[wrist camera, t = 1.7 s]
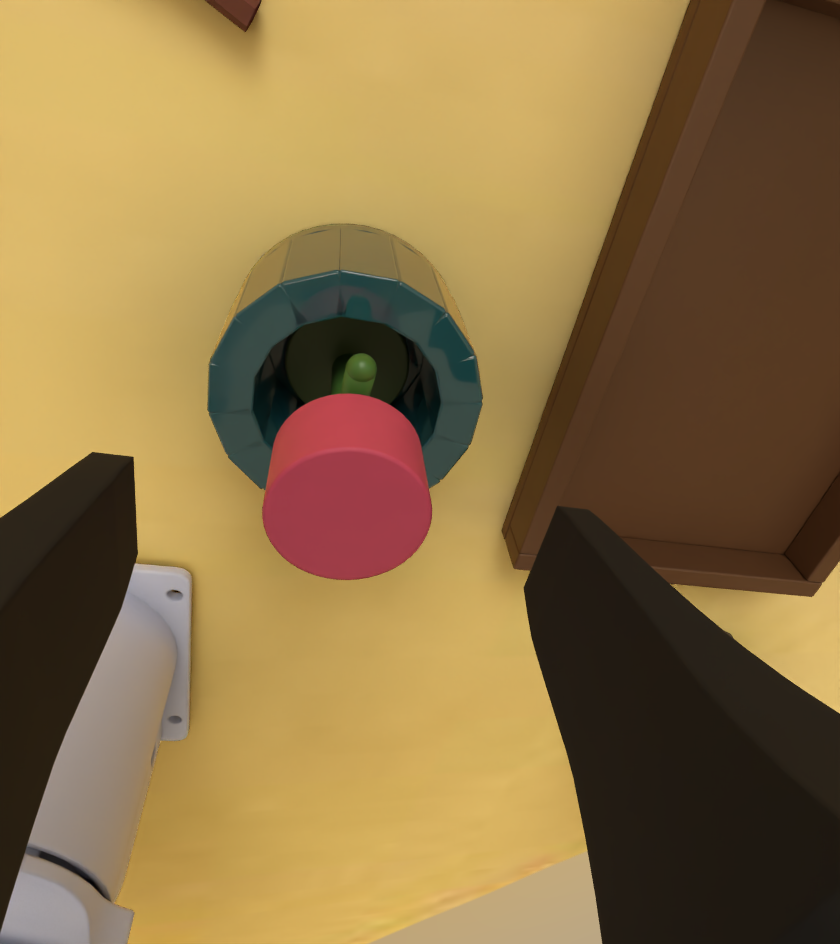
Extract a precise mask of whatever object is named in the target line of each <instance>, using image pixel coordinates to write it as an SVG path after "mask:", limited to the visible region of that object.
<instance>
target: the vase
mask: <svg viewBox="0 0 840 944" xmlns="http://www.w3.org/2000/svg"><path fill="white" fill-rule="evenodd" d="M340 317H345V318H351V319H357V320H363V321H369V322H375V323H381V324H384V325H386V326H387V327H389V328H391V329H392V330H394V331H396V332H397V333H399V334H401V335H402V336H404V337H406V342H407V347H408V353H409V373H408V377H407V380H406V383H405V385H404V387H403V389H402V390H401V392H400V394H399V395H398V396H397V397H396V399H395V400H394V401H393V402H392V403H390V404H389V405H391V406H392V407H394V408H395V409H397V410H398V411H399V412H401V413H402V414H403V415H404V416H405V417H406V418H407V419H408V420H409V421H410V423H411V424H412V426H413V427H414V429H415V431H416V433H417V435H418V437H419V440H420V443H421V448H422V453H423V459H424V464H425V470H426V475H427V481H428V487H429V488H431V487H433V486H434V485H436V484H438V483H439V482H440V480H442V479H443V478H444V477H445V476H446V475H447V473H448V472H449V471H450V470H451V468H452V467H453V466H454V465H455V464H456V462H457V461H458V460H459V459H460V457H461V456H462V455H463V454H464V453H465V451H466V450H467V449H468V446H469V445H470V444H471V442H472V438H473V435H474V432H475V428H476V425H477V421H478V418H479V415H480V411H481V408H482V405H483V404H482V399H483V395H482V388H481V381H480V374H479V368H478V361H477V356H476V353H475V351H474V348H473V346H472V343H471V341H470V338H469V336H468V333H467V331H466V328H465V326H464V323H463V321H462V318H461V315H460V313H459V310H458V308H457V305H456V303H455V300H454V299H453V297H452V296H451V294H450V292H449V290H448V288H447V286H446V284H445V282H444V281H443V279H442V277H441V275H440V274H439V273H438V271H437V270H436V269H435V267H434V266H433V265H432V264H431V263H430V262H429V261H428V260H427V259H426V258H425V257H424V255H423V254H422V253H420V252H419V251H418V250H416V249H415V248H414V247H412V246H411V245H410V244H408V243H407V242H405V241H403V240H401V239H400V238H398V237H396V236H394V235H392V234H389V233H387V232H384V231H382V230H379V229H375V228H371V227H367V226H362V225H354V224H331V225H324V226H317V227H314V228H310V229H307V230H304V231H301V232H299V233H296V234H294V235H292V236H290V237H288V238H286V239H284V240H283V241H281V242H280V243H278V244H277V245H275V246H274V247H272V248H271V249H270V250H269V251H268V252H267V253H265V254H264V255H263V256H262V257H261V258H260V260H259V261H258V262H257V263H256V264H255V265H254V267H253V268H252V269H251V271H250V272H249V274H248V276H247V277H246V279H245V280H244V283H243V285H242V287H241V290H240V292H239V294H238V295H237V297H236V299H235V301H234V303H233V305H232V307H231V309H230V312H229V314H228V317H227V319H226V322H225V324H224V327H223V329H222V331H221V334H220V336H219V339H218V341H217V344H216V346H215V349H214V351H213V353H212V356H211V358H210V362H209V370H208V402H207V410H208V412H209V416H210V418H211V420H212V422H213V425H214V427H215V429H216V432H217V434H218V436H219V439H220V441H221V443H222V445H223V448H224V450H225V452H226V454H227V455H228V458H229V459H230V460H231V461H232V462H233V463H234V464H235V465H236V466H238V467H239V468H240V469H241V470H242V471H243V472H244V473H245V474H246V475H247V476H248V477H249V478H250V479H251V480H252V481H253V482H254V483H255V484H256V485H257V486H258V487H259V488H260V489H264V490H266V484H267V479H268V473H269V467H270V461H271V456H272V450H273V444H274V441H275V438H276V435H277V433H278V431H279V429H280V427H281V426H282V425H283V423H284V422H285V421H286V419H287V418H288V417H289V416H290V415H291V414H292V413H293V412H295V411H296V410H297V409H299V408H300V407H302V406H303V405H305V403H304V402H303V401H302V400H301V399H300V398H299V397H298V395H297V394H296V393H295V392H294V390H293V388H292V387H291V385H290V383H289V380H288V378H287V374H286V370H285V352H286V346H287V341H288V336H289V335H291V334H292V333H294V332H295V331H297V330H298V329H300V328H301V327H302V326H304V325H307V324H312V323H316V322H321V321H326V320H330V319H335V318H340Z"/></svg>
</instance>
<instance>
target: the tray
mask: <svg viewBox="0 0 840 944" xmlns="http://www.w3.org/2000/svg"><path fill="white" fill-rule="evenodd" d="M557 506H563V507H571V508H580V509H589V510H590V511H591V512H592V513H594V514H595V515H596V516H597V517H598V518H600V519H601V520H602V521H603V522H604V523H605V524H606V525H607V526H609V527H610V528H611V529H612V530H613V531H614V532H615V533H616V534H617V535H618V536H619V537H620V538H621V539H622V540H624V541H625V542H626V543H627V544H628V545H629V546H630V547H631V548H632V549H633V550H634V551H635V552H636V553H637V554H638V555H639V556H640V557H641V558H642V559H644V560H645V561H646V562H647V563H648V564H649V565H650V566H651V567H652V568H653V569H654V570H655V571H656V572H657V573H658V574H659V575H661V576H662V577H663V578H664V579H665V580H666V581H667V582H668V583H669V584H680V585H691V586H701V587H712V588H723V589H733V590H744V591H755V592H766V593H776V594H787V595H798V596H809V597H812V596H814V594H815V593H816V592H817V590H818V589H819V588H820V586H821V585H822V582H824V581H825V580H826V578H827V577H828V576H829V574H830V573H831V572H832V570H833V569H834V568H835V566H836V565H837V564H838V562H839V561H840V0H691V1H690V4H689V7H688V10H687V13H686V15H685V18H684V21H683V24H682V27H681V29H680V32H679V35H678V38H677V41H676V43H675V46H674V49H673V52H672V55H671V57H670V60H669V63H668V66H667V69H666V71H665V74H664V77H663V80H662V83H661V85H660V88H659V91H658V94H657V97H656V99H655V102H654V105H653V108H652V111H651V113H650V116H649V119H648V122H647V125H646V127H645V130H644V133H643V136H642V139H641V141H640V144H639V147H638V150H637V153H636V155H635V158H634V161H633V164H632V167H631V170H630V172H629V175H628V178H627V181H626V184H625V186H624V189H623V192H622V195H621V198H620V200H619V203H618V206H617V209H616V212H615V214H614V217H613V220H612V223H611V226H610V228H609V231H608V234H607V237H606V240H605V242H604V245H603V248H602V251H601V254H600V256H599V259H598V262H597V265H596V268H595V270H594V273H593V276H592V279H591V282H590V284H589V287H588V290H587V293H586V296H585V298H584V301H583V304H582V307H581V310H580V312H579V315H578V318H577V321H576V324H575V326H574V329H573V332H572V335H571V338H570V340H569V343H568V346H567V349H566V352H565V354H564V357H563V360H562V363H561V366H560V368H559V371H558V374H557V377H556V380H555V383H554V385H553V388H552V391H551V394H550V397H549V399H548V402H547V405H546V408H545V411H544V413H543V416H542V419H541V422H540V425H539V427H538V430H537V433H536V436H535V439H534V441H533V444H532V447H531V450H530V453H529V455H528V458H527V461H526V464H525V467H524V469H523V472H522V475H521V478H520V481H519V483H518V486H517V489H516V492H515V495H514V497H513V500H512V503H511V506H510V509H509V511H508V514H507V517H506V520H505V523H504V525H503V528H502V533H503V537H504V539H505V542H506V545H507V548H508V552H509V555H510V558H511V561H512V565H513V568H514V569H519V570H530V571H531V569H532V566H533V564H534V561H535V559H536V557H537V554H538V552H539V549H540V547H541V544H542V542H543V539H544V537H545V534H546V532H547V530H548V527H549V525H550V522H551V520H552V517H553V515H554V512H555V510H556V508H557Z"/></svg>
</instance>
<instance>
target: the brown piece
mask: <svg viewBox="0 0 840 944" xmlns="http://www.w3.org/2000/svg"><path fill="white" fill-rule="evenodd" d="M205 1H206V2H208V3H209V4H210V5H211V6H213V7H214V8H215V9H217V10H218V11H219V12H220V13H222V14H223V15H224V16H225V17H227V18H228V19H229V20H230V21H232V22H233V23H234V24H236V25H237V26H238V27H239V28H241V29H242V30H243V31H244V32H246V31H247V29H248V27H249V26H250V24H251V23H252V21H253V19H254V17H255V15H256V12H257V10H258V8H259V6H260V4H261V0H205Z"/></svg>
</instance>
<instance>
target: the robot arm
mask: <svg viewBox="0 0 840 944" xmlns="http://www.w3.org/2000/svg"><path fill="white" fill-rule="evenodd" d="M137 554H138V550H137V527H136V504H135V481H134V458H133V457H130V456H121V455H113V454H104V453H95V452H92V453H91V454H89V455H88V456H86V457H85V458H84V459H82V460H81V461H79V462H78V463H76V464H75V465H74V466H72V467H71V468H69V469H68V470H67V471H65V472H64V473H63V474H61V475H60V476H58V477H57V478H56V479H54V480H53V481H52V482H50V483H49V484H48V485H46V486H45V487H43V488H42V489H41V490H39V491H38V492H37V493H35V494H34V495H32V496H31V497H30V498H28V499H27V500H26V501H24V502H23V503H21V504H20V505H18V506H17V507H15V508H14V509H13V510H11V511H10V512H8V513H7V514H5V515H4V516H3V517H1V518H0V944H127V942H128V938H129V934H130V930H131V925H132V921H133V917H134V912H133V910H131V909H128V908H124V907H121V906H119V905H116V904H114V902H115V901H116V899H117V897H118V895H119V892H120V890H121V888H122V885H123V882H124V879H125V876H126V872H127V868H128V864H129V860H130V856H131V853H132V849H133V845H134V841H135V837H136V833H137V830H138V826H139V822H140V818H141V814H142V810H143V806H144V803H145V799H146V795H147V791H148V787H149V783H150V780H151V776H152V772H153V768H154V764H155V760H156V756H157V753H158V749H159V745H160V741H180V740H183V739H185V738H186V737H187V735H188V731H189V720H190V668H191V616H192V576H191V574H190V573H189V572H188V571H187V570H185V569H183V568H179V567H171V566H159V565H148V564H136V563H135V561H136V558H137ZM172 590H177V591H180V592H179V593H176V592H173V591H172ZM524 593H525V600H526V607H527V614H528V620H529V625H530V631H531V637H532V641H533V644H534V648H535V651H536V655H537V658H538V661H539V664H540V668H541V671H542V674H543V678H544V681H545V684H546V687H547V691H548V694H549V697H550V700H551V703H552V707H553V710H554V713H555V716H556V720H557V723H558V726H559V729H560V732H561V736H562V739H563V742H564V745H565V748H566V752H567V755H568V759H569V763H570V767H571V771H572V774H573V778H574V783H575V788H576V793H577V798H578V803H579V808H580V813H581V818H582V823H583V828H584V833H585V838H586V844H587V850H588V855H589V861H590V867H591V873H592V878H593V884H594V890H595V896H596V903H597V909H598V917H599V924H600V930H601V937H602V944H840V714H839V713H838V712H836V711H835V710H833V709H832V708H830V707H829V706H827V705H825V704H824V703H822V702H821V701H819V700H818V699H816V698H815V697H813V696H811V695H810V694H808V693H807V692H805V691H804V690H802V689H801V688H800V687H798V686H797V685H795V684H794V683H792V682H791V681H789V680H788V679H786V678H785V677H784V676H782V675H781V674H780V673H778V672H777V671H775V670H774V669H773V668H771V667H770V666H769V665H767V664H766V663H765V662H763V661H762V660H761V659H759V658H758V657H757V656H755V655H754V654H752V653H751V652H750V651H748V650H747V649H746V648H744V647H743V646H742V645H741V644H739V643H738V642H737V641H736V640H734V639H733V638H732V637H731V636H729V635H728V634H727V633H726V632H724V631H723V630H722V629H721V628H720V627H718V626H717V625H716V624H715V623H714V622H713V621H711V620H710V619H709V618H708V617H707V616H705V615H704V614H703V613H702V612H701V611H699V610H698V609H697V608H696V607H695V606H694V605H693V604H691V603H690V602H689V601H688V600H687V599H686V598H685V597H684V596H682V595H681V594H680V593H679V592H678V591H677V590H676V589H675V588H674V587H672V586H671V585H670V584H669V583H668V582H667V581H666V580H665V579H664V578H663V577H662V576H661V575H659V574H658V573H657V572H656V571H655V570H654V569H653V568H652V567H651V566H650V565H649V564H648V563H647V562H646V561H645V560H644V559H642V558H641V557H640V556H639V555H638V554H637V553H636V552H635V551H634V550H633V549H632V548H631V547H630V546H629V545H628V544H627V543H626V542H625V541H624V540H622V539H621V538H620V537H619V536H618V535H617V534H616V533H615V532H614V531H613V530H612V529H611V528H610V527H609V526H607V525H606V524H605V523H604V522H603V521H602V520H601V519H600V518H598V517H597V516H596V515H595V514H594V513H592V512H591V511H590V510H589V509H580V508H571V507H563V506H557V508H556V510H555V512H554V515H553V517H552V520H551V522H550V525H549V527H548V530H547V532H546V534H545V537H544V539H543V542H542V544H541V547H540V549H539V552H538V554H537V557H536V559H535V561H534V564H533V566H532V569H531V571H530V574H529V576H528V579H527V581H526V584H525V586H524Z"/></svg>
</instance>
